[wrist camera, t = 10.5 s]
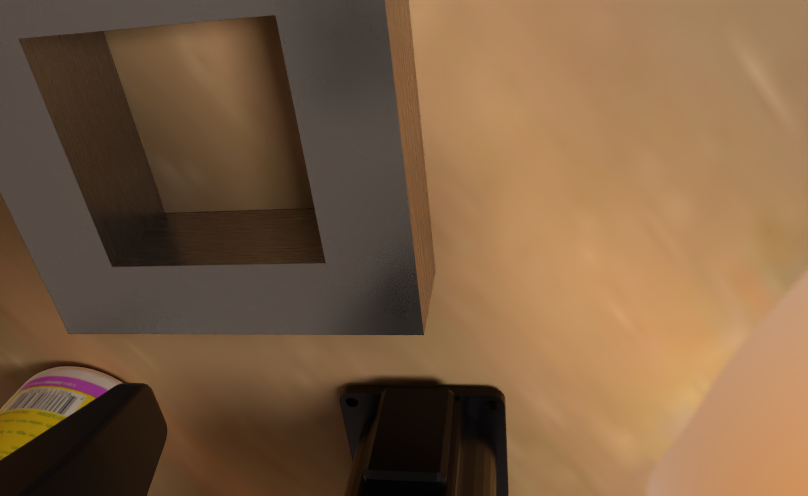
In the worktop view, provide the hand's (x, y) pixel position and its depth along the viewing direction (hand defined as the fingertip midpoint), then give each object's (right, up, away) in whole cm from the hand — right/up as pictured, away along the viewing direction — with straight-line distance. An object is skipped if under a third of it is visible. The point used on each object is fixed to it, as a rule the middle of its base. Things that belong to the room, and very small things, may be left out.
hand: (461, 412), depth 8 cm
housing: (-6, +6, +11) cm, 14 cm away
